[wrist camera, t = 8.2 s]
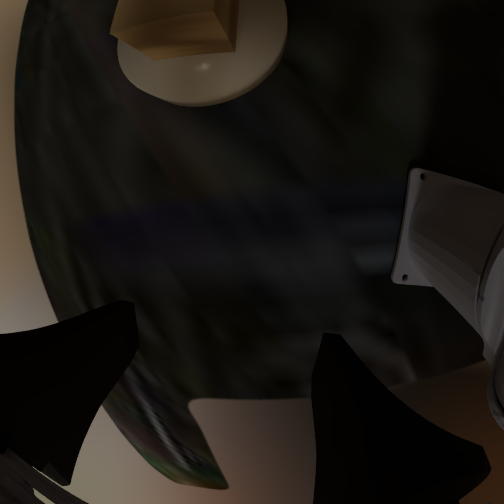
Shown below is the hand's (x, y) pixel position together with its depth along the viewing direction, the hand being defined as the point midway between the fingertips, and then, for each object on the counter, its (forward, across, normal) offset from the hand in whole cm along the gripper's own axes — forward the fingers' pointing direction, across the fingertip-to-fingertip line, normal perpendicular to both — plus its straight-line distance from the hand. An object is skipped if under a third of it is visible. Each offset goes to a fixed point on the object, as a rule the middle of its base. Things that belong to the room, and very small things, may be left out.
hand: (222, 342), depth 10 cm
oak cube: (+7, +4, -15) cm, 17 cm away
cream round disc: (+10, +5, -15) cm, 19 cm away
